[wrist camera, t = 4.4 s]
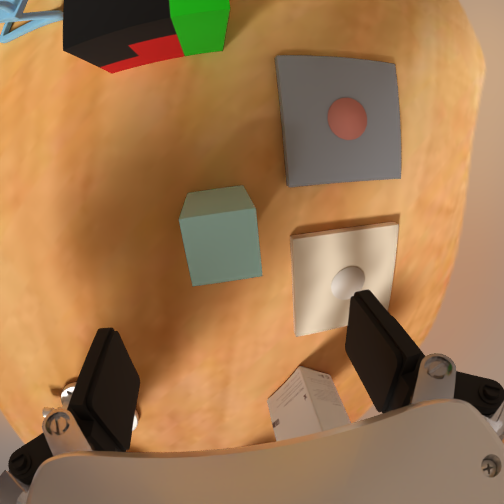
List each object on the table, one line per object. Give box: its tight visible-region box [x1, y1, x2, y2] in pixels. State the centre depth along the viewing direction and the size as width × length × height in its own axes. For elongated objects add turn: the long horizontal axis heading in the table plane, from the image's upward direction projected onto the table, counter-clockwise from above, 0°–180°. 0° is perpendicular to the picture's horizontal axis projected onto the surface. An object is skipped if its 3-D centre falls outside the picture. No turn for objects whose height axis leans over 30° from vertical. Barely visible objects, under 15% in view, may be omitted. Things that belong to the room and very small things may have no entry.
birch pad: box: [290, 222, 399, 337], centre depth 31 cm, size 12×12×1 cm
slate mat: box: [275, 55, 401, 187], centre depth 24 cm, size 12×12×1 cm
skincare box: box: [267, 366, 351, 441], centre depth 32 cm, size 8×6×15 cm
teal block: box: [179, 185, 262, 286], centre depth 24 cm, size 5×5×8 cm
